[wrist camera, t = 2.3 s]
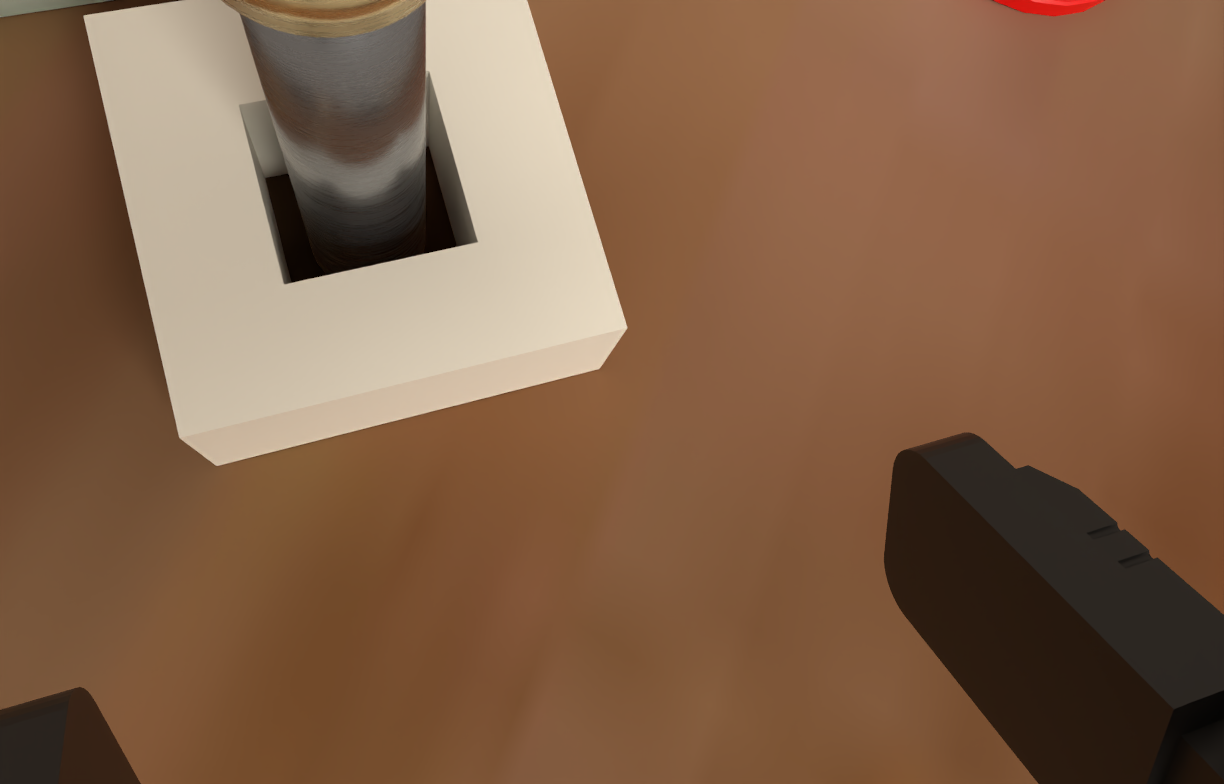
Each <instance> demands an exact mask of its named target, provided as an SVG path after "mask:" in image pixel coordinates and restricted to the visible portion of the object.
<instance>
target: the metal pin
mask: <svg viewBox="0 0 1224 784" xmlns="http://www.w3.org/2000/svg"><path fill="white" fill-rule="evenodd" d="M221 1H223V2H224V3H225V4H226V5H228V6H229V7H231V8H232V9H234V10H235V11H237V12H238V13H240V17H241V20H242V23H243V26H244V30H245V33H246V36H247V40H248V43H249V46H250V49H251V53H252V56H253V59H254V62H255V66H256V69H257V72H258V75H259V79H260V82H261V85H262V89H263V92H264V95H265V98H266V102H267V105H268V108H269V111H270V115H271V118H272V121H273V125H274V128H275V131H276V134H277V138H278V141H279V144H280V147H281V151H282V154H283V157H284V160H285V164H286V167H287V170H288V174H289V177H290V180H291V183H292V187H293V190H294V193H295V196H296V200H297V203H298V206H299V209H300V213H301V216H302V219H303V223H304V226H305V229H306V232H307V236H308V239H309V242H310V245H311V249H312V252H313V255H314V257H315V259H316V261H317V263H318V264H319V266H320V267H321V269H322V270H323V271H324V272H325V273H326V274H327V275H330V274H335V273H339V272H344V271H348V270H353V269H358V268H362V267H367V266H371V265H376V264H381V263H385V262H390V261H394V260H399V259H403V258H408V257H413V256H417V255H422V254H423V253H424V250H425V243H426V0H221Z"/></svg>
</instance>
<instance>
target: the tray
mask: <svg viewBox="0 0 1224 784" xmlns="http://www.w3.org/2000/svg"><path fill="white" fill-rule="evenodd" d="M105 1H112V0H0V17H6V16H13V15H19V14H26V13H33V12H39V11H46V10H52V9H59V8H66V7H72V6H79V5H86V4H92V3H99V2H105Z"/></svg>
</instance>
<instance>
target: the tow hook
mask: <svg viewBox="0 0 1224 784" xmlns="http://www.w3.org/2000/svg"><path fill="white" fill-rule="evenodd" d="M993 1H996V2H998V3H1001V4H1003V5H1006V6H1009V7H1011V8H1014V9H1016V10H1019V11H1021V12H1024V13H1032V14H1041V15H1049V16H1059V15H1066V14H1072V13H1078V12H1084V11H1086V10H1087V9H1089V8H1091V7H1093V6H1095V5H1097V4H1099V3H1101V2H1103V1H1105V0H993Z"/></svg>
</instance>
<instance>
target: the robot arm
mask: <svg viewBox="0 0 1224 784" xmlns="http://www.w3.org/2000/svg"><path fill="white" fill-rule="evenodd" d="M884 565H885V572H886V576H887V580H888V584H889V587H890V590H891V592H892V594H893V597H894V599H895V601H896V603H897V605H898V606H899V608H900V610H901V611H902V612H903V614H904V615H905V617H906V618H907V619H908V620H909V622H910V623H911V624H912V625H913V627H914V628H915V629H916V630H917V632H918V633H919V634H920V635H921V637H922V638H923V639H924V640H925V642H926V643H927V644H928V645H929V647H930V648H931V649H932V650H933V652H934V653H935V654H936V655H937V657H938V658H939V659H940V661H941V662H942V663H943V664H944V666H945V667H946V668H947V669H948V671H949V672H950V673H951V674H952V676H953V677H954V678H955V679H956V681H957V682H958V683H959V684H960V686H961V687H962V688H963V689H964V691H965V692H966V693H967V694H968V696H969V697H970V698H971V699H972V701H973V702H974V703H975V704H976V706H977V707H978V708H979V709H980V711H981V712H982V713H983V714H984V716H985V717H986V718H987V719H988V721H989V722H990V723H991V724H992V726H993V727H994V728H995V730H996V731H997V732H998V733H999V735H1000V736H1001V737H1002V738H1003V740H1004V741H1005V742H1006V743H1007V745H1008V746H1009V747H1010V748H1011V750H1012V751H1013V752H1014V753H1015V755H1016V756H1017V757H1018V758H1019V760H1020V761H1021V762H1022V763H1023V765H1024V766H1025V767H1026V768H1027V770H1028V771H1029V772H1030V773H1031V775H1032V776H1033V777H1034V778H1035V780H1036V781H1037V782H1038V783H1039V784H1224V615H1223V614H1222V613H1221V612H1220V611H1219V610H1217V609H1216V608H1215V607H1214V606H1213V605H1212V604H1211V603H1209V602H1208V601H1207V600H1206V599H1205V598H1204V597H1202V596H1201V595H1200V594H1199V593H1198V592H1197V591H1195V590H1194V589H1193V588H1192V587H1191V586H1190V585H1189V584H1187V583H1186V582H1185V581H1184V580H1183V579H1182V578H1180V577H1179V576H1178V575H1177V574H1176V573H1175V572H1174V571H1172V570H1171V569H1170V568H1169V567H1168V566H1167V565H1165V564H1164V563H1163V562H1162V561H1161V560H1160V559H1159V558H1155V559H1153V558H1152V557H1151V556H1150V554H1149V550H1148V549H1147V548H1146V547H1145V546H1144V545H1142V544H1141V543H1140V542H1139V541H1138V540H1137V539H1135V538H1134V537H1133V536H1132V535H1131V534H1130V533H1129V532H1127V531H1126V530H1122V531H1121V530H1119V528H1118V526H1117V522H1116V521H1115V520H1113V519H1112V518H1111V517H1110V516H1109V515H1108V514H1107V513H1105V512H1104V511H1103V510H1102V509H1101V508H1100V507H1098V506H1097V505H1096V504H1095V503H1094V502H1093V501H1092V500H1090V499H1089V498H1088V497H1087V496H1086V495H1085V494H1083V493H1082V492H1081V491H1080V490H1079V489H1077V488H1075V487H1073V486H1071V485H1069V484H1066V483H1064V482H1062V481H1060V480H1058V479H1056V478H1054V477H1052V476H1050V475H1048V474H1045V473H1043V472H1041V471H1039V470H1037V469H1035V468H1033V467H1031V466H1029V465H1028V466H1024V467H1021V468H1018V469H1015V468H1014V467H1013V466H1012V465H1011V464H1010V463H1009V462H1007V461H1006V460H1005V459H1004V458H1003V457H1002V456H1001V455H1000V454H999V453H998V452H996V451H995V450H994V449H993V448H992V447H991V446H990V445H989V444H988V443H987V442H985V441H984V440H983V439H982V438H980V437H979V436H977V435H975V434H972V433H961V434H958V435H954V436H951V437H948V438H944V439H941V440H937V441H934V442H930V443H927V444H923V445H920V446H917V447H913V448H910V449H906V450H903V451H901V452H900V453H899V454H898V455H897V457H896V459H895V462H894V466H893V474H892V483H891V493H890V503H889V513H888V522H887V532H886V542H885V552H884ZM0 784H140V782H139V780H138V778H137V776H136V775H135V773H134V771H133V769H132V767H131V766H130V764H129V762H128V760H127V758H126V757H125V755H124V753H123V751H122V749H121V748H120V746H119V744H118V742H117V740H116V739H115V737H114V735H113V733H112V731H111V729H110V728H109V726H108V724H107V722H106V720H105V719H104V717H103V715H102V713H101V711H100V710H99V708H98V706H97V704H96V702H95V701H94V699H93V698H92V696H91V695H90V694H89V692H88V691H87V690H85V689H84V688H81V687H78V688H74V689H71V690H67V691H64V692H61V693H57V694H54V695H50V696H47V697H43V698H40V699H36V700H33V701H30V702H26V703H23V704H19V705H16V706H12V707H9V708H5V709H2V710H0Z"/></svg>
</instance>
